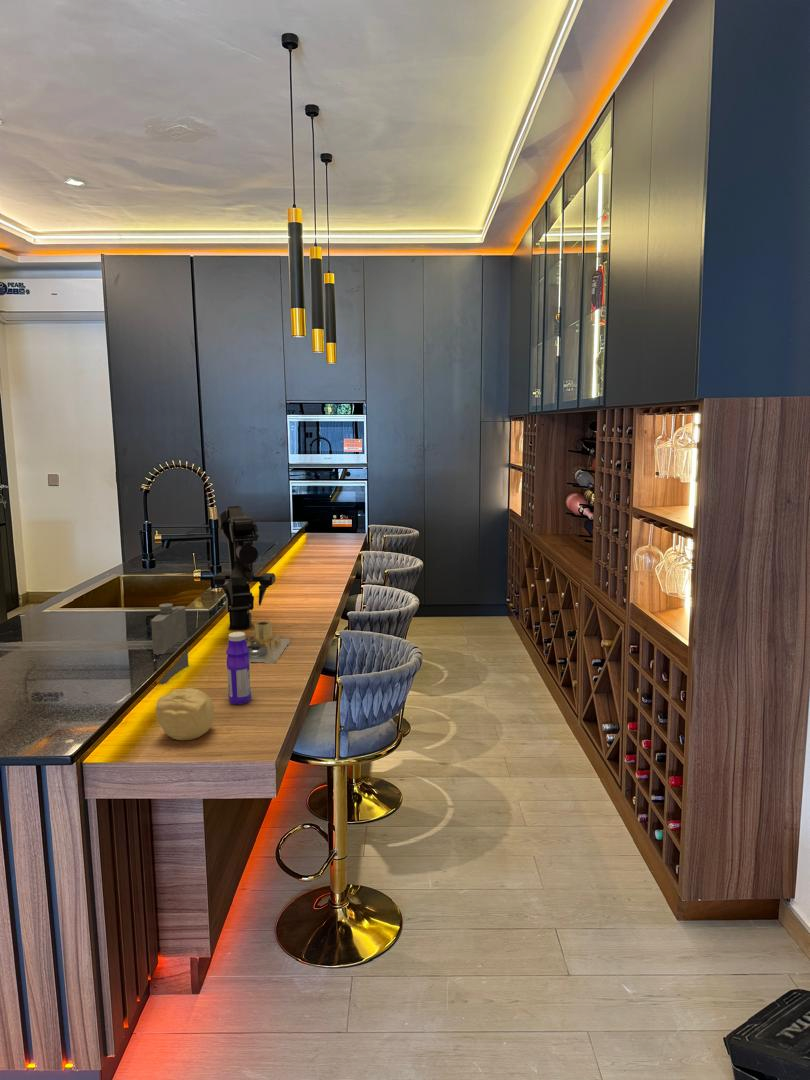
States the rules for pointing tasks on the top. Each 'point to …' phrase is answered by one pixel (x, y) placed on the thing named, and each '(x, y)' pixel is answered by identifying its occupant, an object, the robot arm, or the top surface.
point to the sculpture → (185, 713)
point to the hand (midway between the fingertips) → (245, 605)
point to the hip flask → (170, 635)
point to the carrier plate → (271, 652)
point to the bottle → (238, 669)
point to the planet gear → (264, 635)
